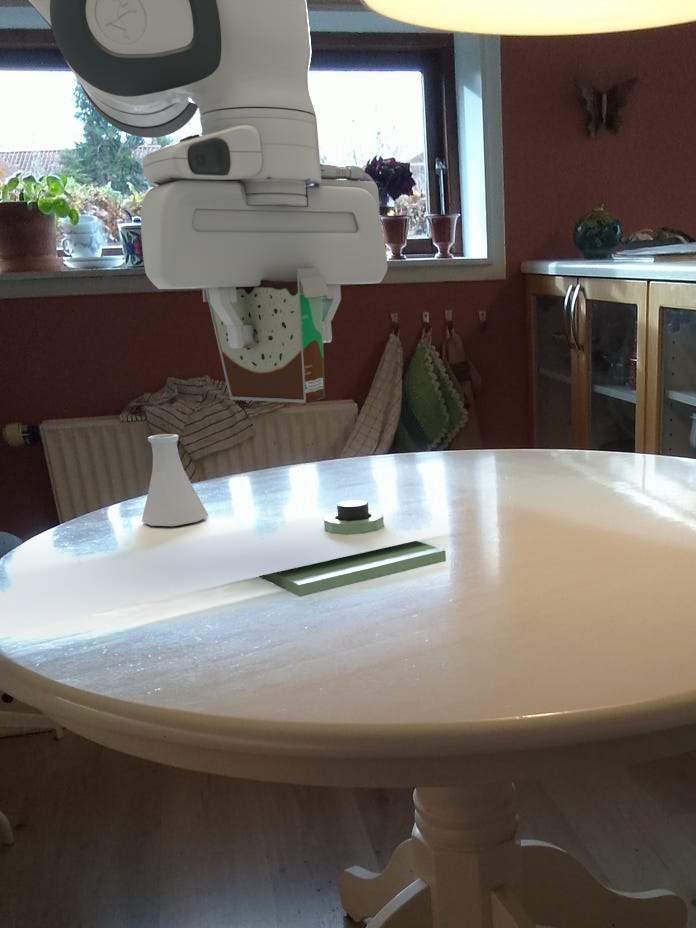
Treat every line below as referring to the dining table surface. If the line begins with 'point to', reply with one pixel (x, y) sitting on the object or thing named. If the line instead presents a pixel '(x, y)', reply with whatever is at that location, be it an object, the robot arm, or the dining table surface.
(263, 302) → the food container
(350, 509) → the tare button
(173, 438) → the flask
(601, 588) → the dining table surface
